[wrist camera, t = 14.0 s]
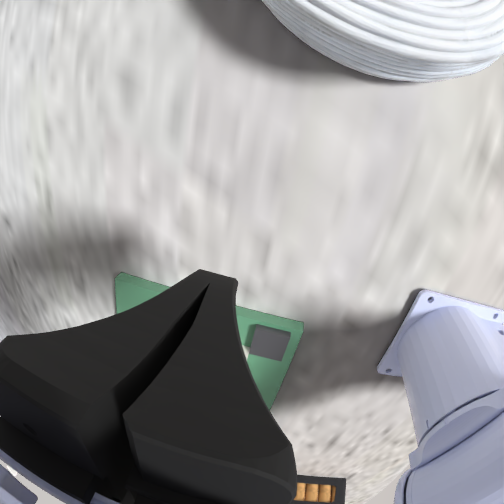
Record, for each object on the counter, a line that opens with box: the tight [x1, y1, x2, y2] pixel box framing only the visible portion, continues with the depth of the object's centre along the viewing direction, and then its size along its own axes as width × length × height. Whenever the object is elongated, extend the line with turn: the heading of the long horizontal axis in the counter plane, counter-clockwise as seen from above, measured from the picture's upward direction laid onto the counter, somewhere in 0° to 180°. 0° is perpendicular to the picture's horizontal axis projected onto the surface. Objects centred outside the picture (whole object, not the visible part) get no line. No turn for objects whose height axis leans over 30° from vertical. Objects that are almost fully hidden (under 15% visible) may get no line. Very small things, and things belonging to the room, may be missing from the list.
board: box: [115, 272, 304, 411], centre depth 23 cm, size 14×12×2 cm
